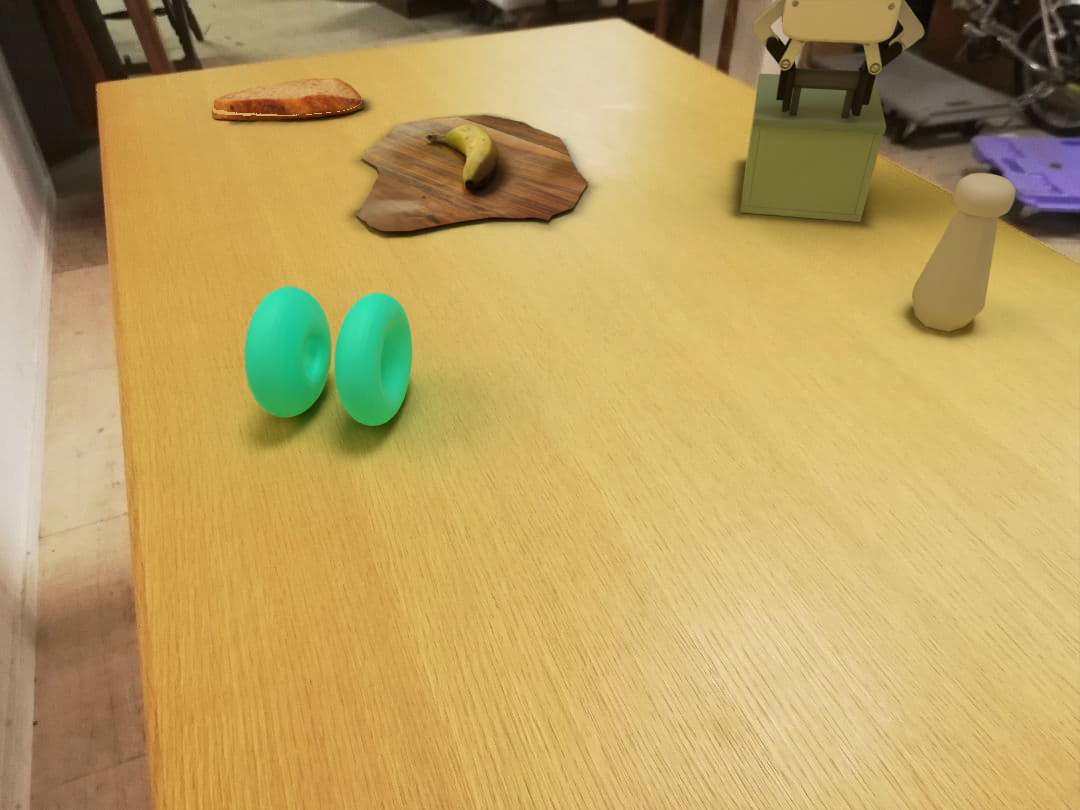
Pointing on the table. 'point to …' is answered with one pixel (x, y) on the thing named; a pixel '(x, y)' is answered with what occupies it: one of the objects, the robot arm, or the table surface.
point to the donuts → (328, 355)
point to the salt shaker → (963, 254)
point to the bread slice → (291, 100)
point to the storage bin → (808, 172)
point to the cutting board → (468, 173)
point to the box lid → (818, 103)
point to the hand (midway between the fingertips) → (820, 107)
